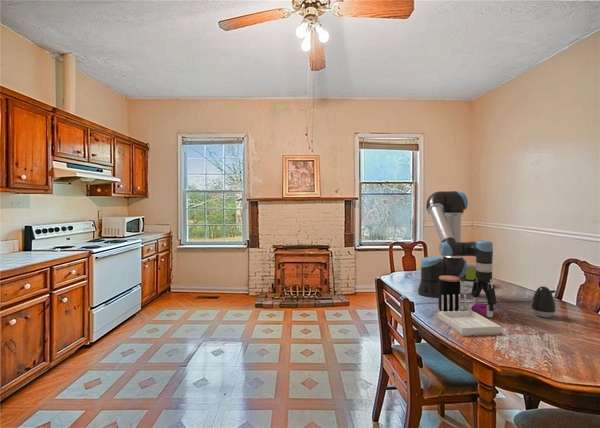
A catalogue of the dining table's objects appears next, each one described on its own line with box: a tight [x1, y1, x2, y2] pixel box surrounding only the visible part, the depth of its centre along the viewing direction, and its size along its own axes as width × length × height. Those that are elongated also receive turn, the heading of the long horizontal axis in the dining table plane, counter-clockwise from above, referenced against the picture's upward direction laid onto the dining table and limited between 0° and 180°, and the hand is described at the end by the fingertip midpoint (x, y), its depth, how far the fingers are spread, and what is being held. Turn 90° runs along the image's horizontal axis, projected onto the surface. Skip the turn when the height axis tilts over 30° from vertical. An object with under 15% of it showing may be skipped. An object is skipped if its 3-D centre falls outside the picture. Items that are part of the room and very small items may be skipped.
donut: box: [470, 302, 496, 318], centre depth 177 cm, size 10×10×5 cm
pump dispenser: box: [530, 286, 557, 319], centre depth 174 cm, size 10×10×15 cm
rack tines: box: [440, 293, 467, 312], centre depth 173 cm, size 2×16×12 cm, turn 95°
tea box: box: [459, 262, 476, 288], centre depth 236 cm, size 15×10×15 cm, turn 58°
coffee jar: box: [438, 275, 461, 311], centre depth 183 cm, size 11×11×18 cm
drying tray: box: [437, 310, 502, 337], centre depth 161 cm, size 22×18×4 cm
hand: (483, 313), depth 177 cm, fingers closed on donut, 10 cm apart
